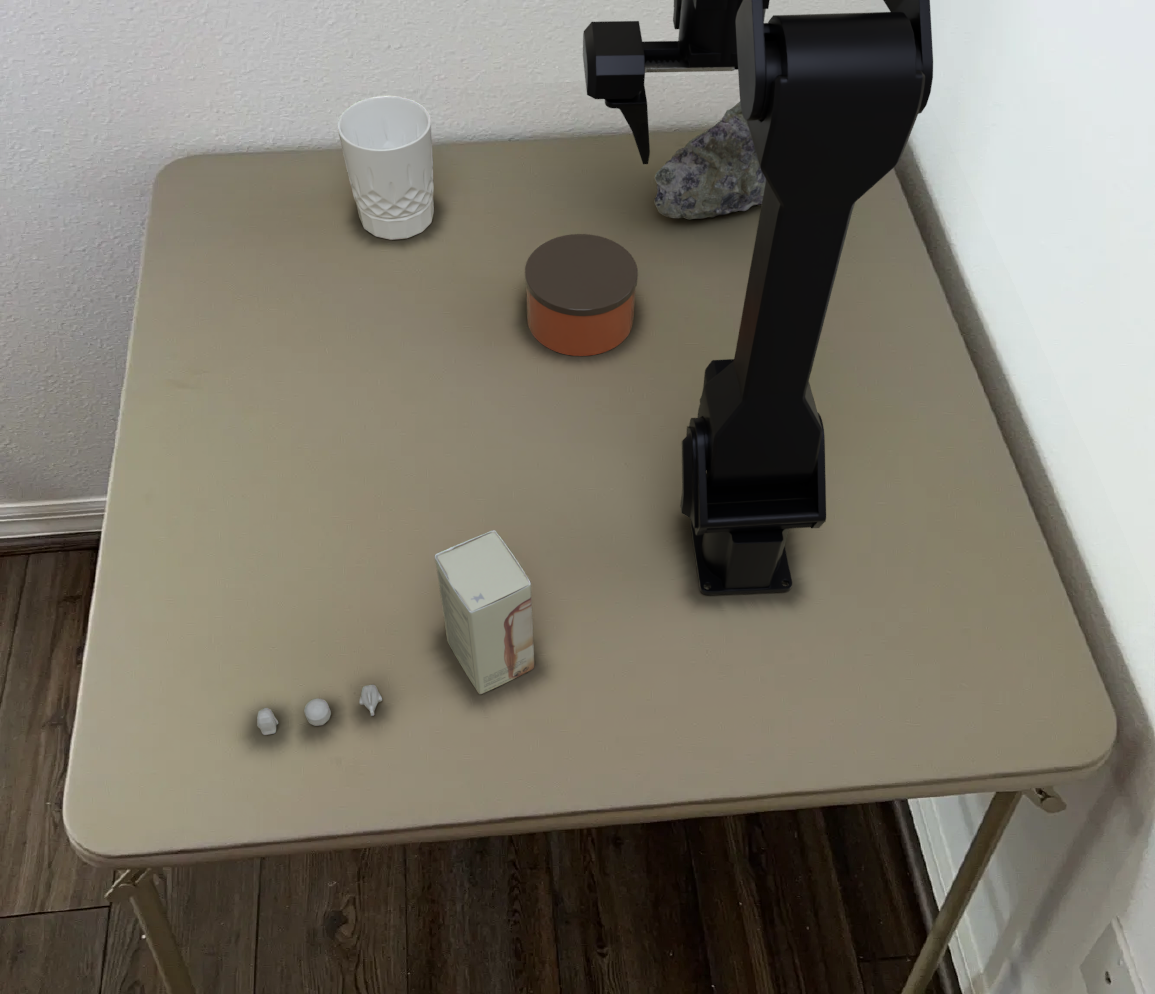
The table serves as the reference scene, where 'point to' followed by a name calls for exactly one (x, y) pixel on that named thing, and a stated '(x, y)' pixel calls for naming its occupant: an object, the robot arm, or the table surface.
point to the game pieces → (318, 710)
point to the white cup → (389, 164)
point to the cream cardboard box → (486, 610)
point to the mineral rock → (712, 173)
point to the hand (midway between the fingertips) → (704, 159)
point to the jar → (580, 294)
